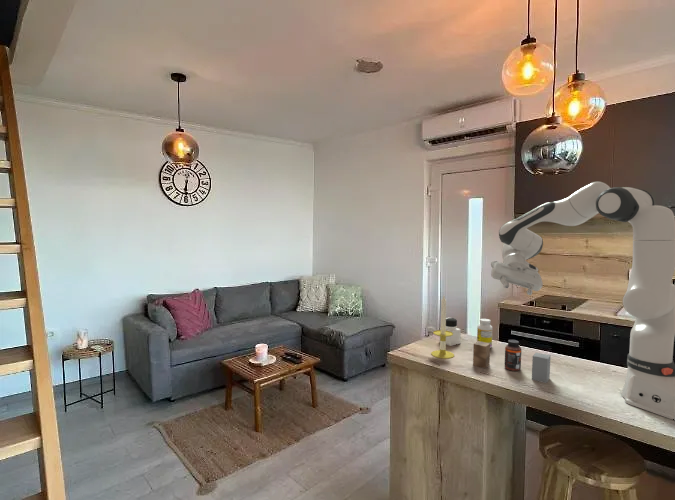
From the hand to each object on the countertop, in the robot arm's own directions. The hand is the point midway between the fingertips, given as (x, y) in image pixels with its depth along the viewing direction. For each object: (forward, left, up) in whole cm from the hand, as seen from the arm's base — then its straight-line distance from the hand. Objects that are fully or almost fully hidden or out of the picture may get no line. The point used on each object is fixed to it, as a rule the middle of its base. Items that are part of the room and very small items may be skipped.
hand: (518, 290), depth 154 cm
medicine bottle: (+35, +7, -32) cm, 47 cm away
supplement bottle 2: (-1, +3, -32) cm, 32 cm away
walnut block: (+6, +12, -31) cm, 34 cm away
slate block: (-13, 0, -31) cm, 34 cm away
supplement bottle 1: (+25, -5, -32) cm, 40 cm away
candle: (+22, +20, -32) cm, 43 cm away
